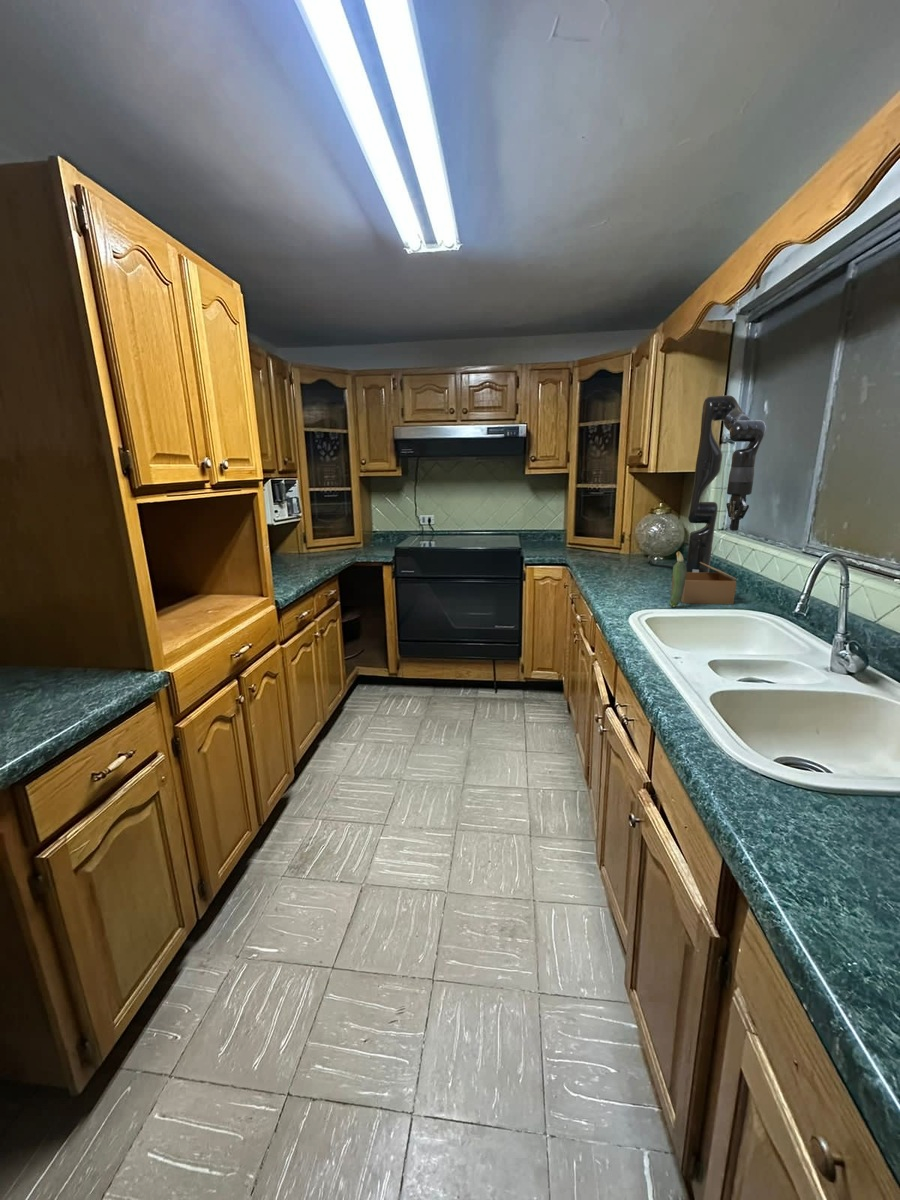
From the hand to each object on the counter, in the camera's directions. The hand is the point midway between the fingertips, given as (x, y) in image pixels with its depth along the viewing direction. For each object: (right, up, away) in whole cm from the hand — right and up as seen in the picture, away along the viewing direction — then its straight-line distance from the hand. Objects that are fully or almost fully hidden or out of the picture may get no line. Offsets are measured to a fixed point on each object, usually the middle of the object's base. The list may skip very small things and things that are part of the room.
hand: (733, 530), depth 173 cm
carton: (-8, -24, +7) cm, 27 cm away
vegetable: (-23, -28, -4) cm, 36 cm away
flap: (-4, -14, +4) cm, 15 cm away
